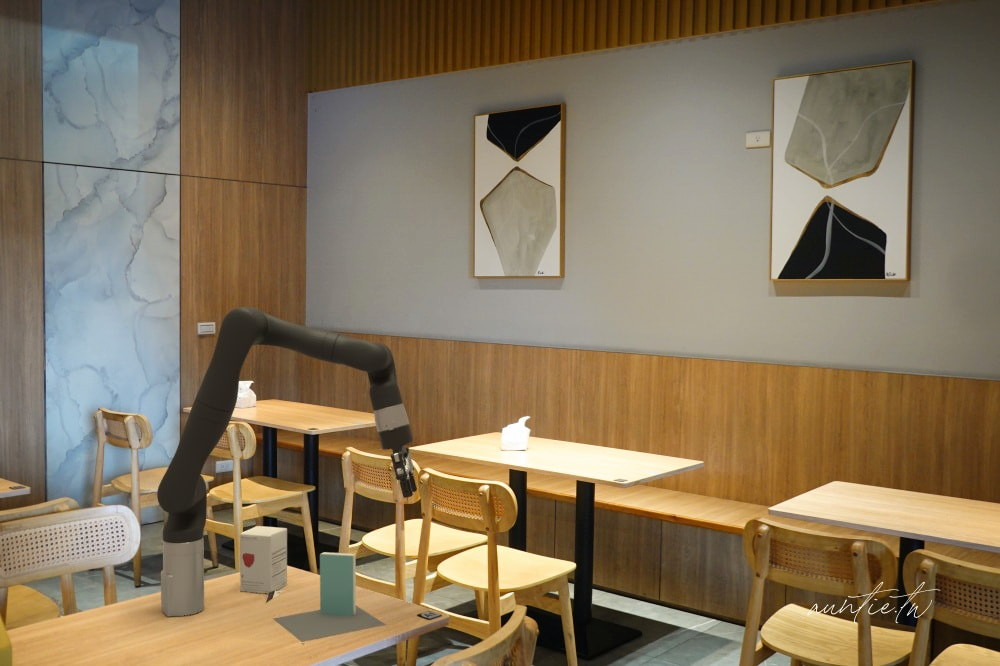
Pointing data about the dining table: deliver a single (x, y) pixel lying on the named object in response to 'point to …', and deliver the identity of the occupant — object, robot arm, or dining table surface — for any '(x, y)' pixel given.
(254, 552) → the supplement box
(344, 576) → the tile
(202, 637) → the dining table surface
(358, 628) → the mat
